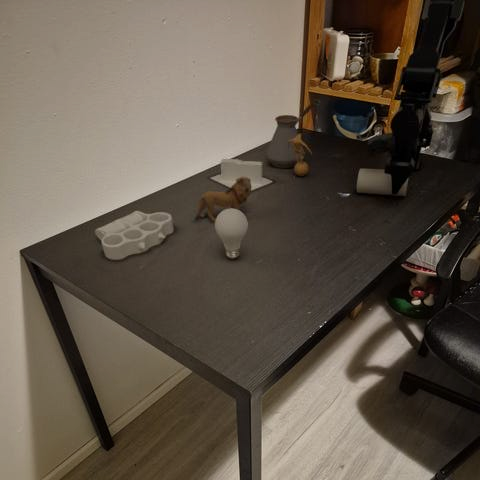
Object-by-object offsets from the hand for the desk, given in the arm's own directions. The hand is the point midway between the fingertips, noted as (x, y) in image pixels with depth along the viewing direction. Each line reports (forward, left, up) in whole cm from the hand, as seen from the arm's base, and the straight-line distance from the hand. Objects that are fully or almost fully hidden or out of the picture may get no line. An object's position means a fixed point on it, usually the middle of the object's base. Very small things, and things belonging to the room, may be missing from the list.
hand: (395, 188), depth 107 cm
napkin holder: (+2, -42, -2) cm, 42 cm away
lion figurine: (+23, -38, -2) cm, 44 cm away
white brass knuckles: (+40, -53, -2) cm, 66 cm away
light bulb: (+40, -29, -2) cm, 49 cm away
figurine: (-5, -27, -2) cm, 27 cm away
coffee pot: (-18, -32, -2) cm, 37 cm away
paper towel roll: (0, -3, -2) cm, 4 cm away
